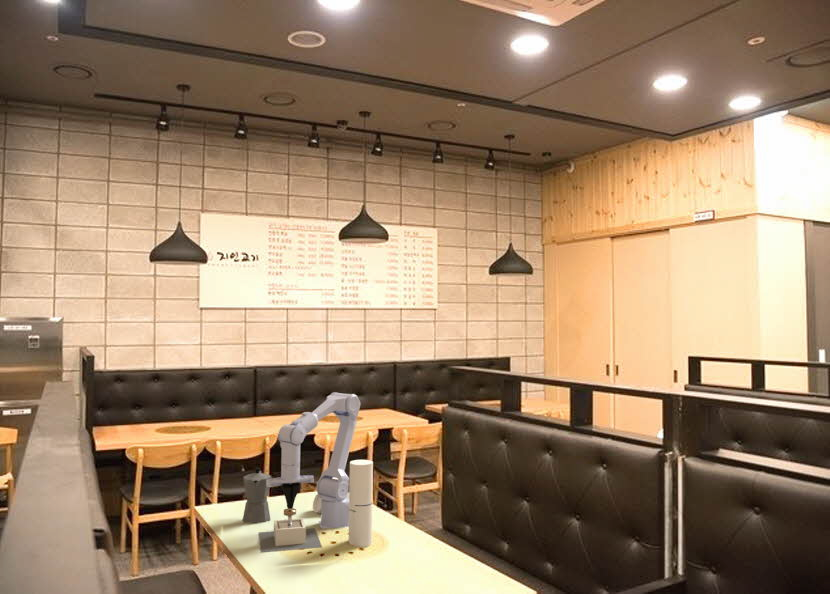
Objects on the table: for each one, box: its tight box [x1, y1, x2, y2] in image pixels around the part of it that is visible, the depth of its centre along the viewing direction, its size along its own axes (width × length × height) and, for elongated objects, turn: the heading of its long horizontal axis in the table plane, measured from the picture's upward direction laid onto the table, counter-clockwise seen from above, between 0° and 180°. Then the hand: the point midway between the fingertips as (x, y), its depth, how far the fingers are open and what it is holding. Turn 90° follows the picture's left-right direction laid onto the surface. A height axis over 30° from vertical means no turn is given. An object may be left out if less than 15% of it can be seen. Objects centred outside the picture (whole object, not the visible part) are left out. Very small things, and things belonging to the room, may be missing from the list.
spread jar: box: [312, 477, 350, 514], centre depth 233 cm, size 12×11×12 cm
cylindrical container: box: [348, 459, 374, 548], centre depth 200 cm, size 7×7×25 cm
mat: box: [258, 527, 323, 554], centre depth 201 cm, size 18×18×1 cm
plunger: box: [278, 507, 301, 529], centre depth 201 cm, size 6×6×5 cm
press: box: [273, 518, 307, 546], centre depth 201 cm, size 9×9×5 cm
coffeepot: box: [242, 467, 272, 524], centre depth 222 cm, size 15×9×18 cm, turn 8°
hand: (289, 507), depth 201 cm, fingers closed
